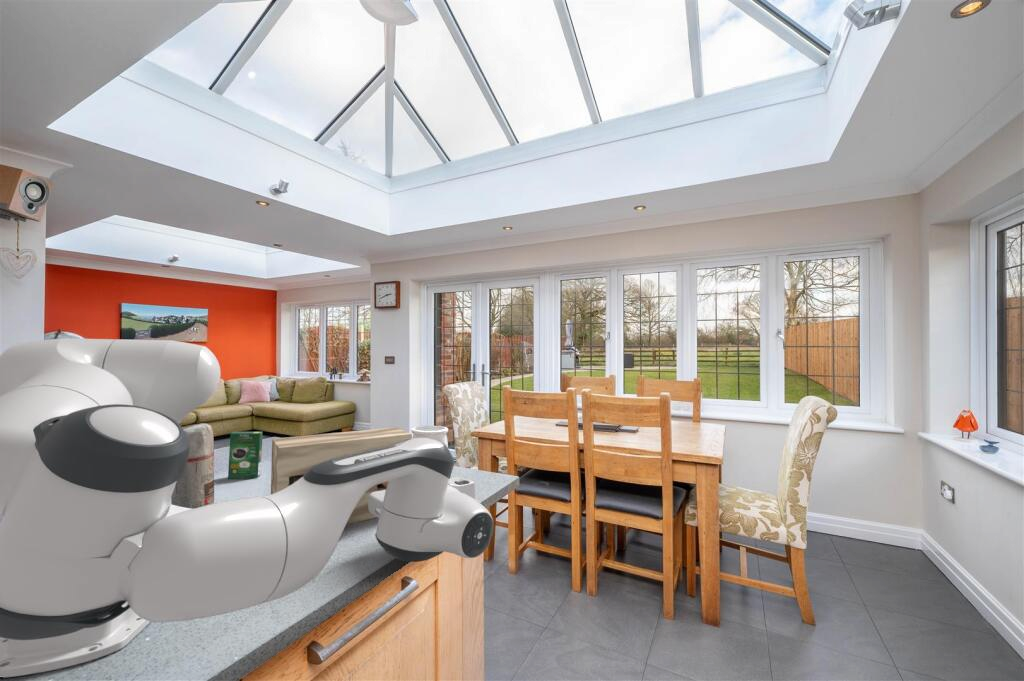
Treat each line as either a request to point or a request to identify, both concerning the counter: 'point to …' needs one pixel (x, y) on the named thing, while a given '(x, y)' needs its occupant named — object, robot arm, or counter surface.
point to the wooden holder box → (329, 457)
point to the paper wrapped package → (197, 470)
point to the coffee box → (245, 454)
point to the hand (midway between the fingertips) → (407, 486)
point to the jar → (431, 433)
